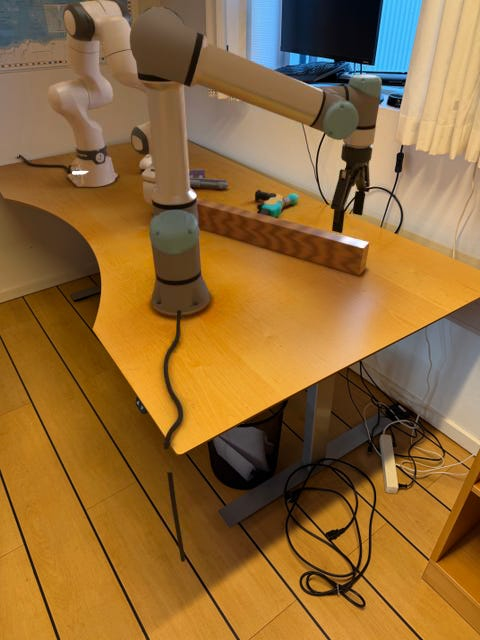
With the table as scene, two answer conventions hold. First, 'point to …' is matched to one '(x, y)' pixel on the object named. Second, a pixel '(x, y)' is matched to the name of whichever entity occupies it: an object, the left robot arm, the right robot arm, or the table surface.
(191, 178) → the toy gun
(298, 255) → the beam
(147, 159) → the sneaker
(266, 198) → the toy gun
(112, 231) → the table surface
